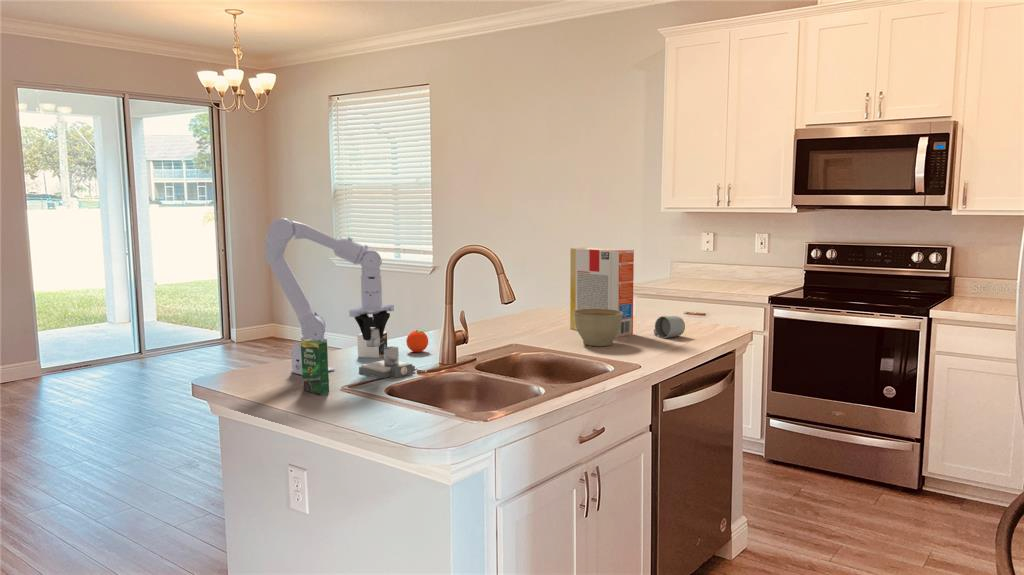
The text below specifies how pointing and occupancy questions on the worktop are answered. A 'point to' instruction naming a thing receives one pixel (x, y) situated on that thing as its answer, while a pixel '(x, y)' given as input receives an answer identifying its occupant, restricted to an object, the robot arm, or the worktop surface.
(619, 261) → the cereal box
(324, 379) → the green cardboard box
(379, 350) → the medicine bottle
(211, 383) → the worktop surface
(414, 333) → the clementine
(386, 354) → the spacer
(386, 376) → the scale
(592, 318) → the planter bowl
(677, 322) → the ceramic mug
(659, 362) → the worktop surface
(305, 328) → the robot arm
